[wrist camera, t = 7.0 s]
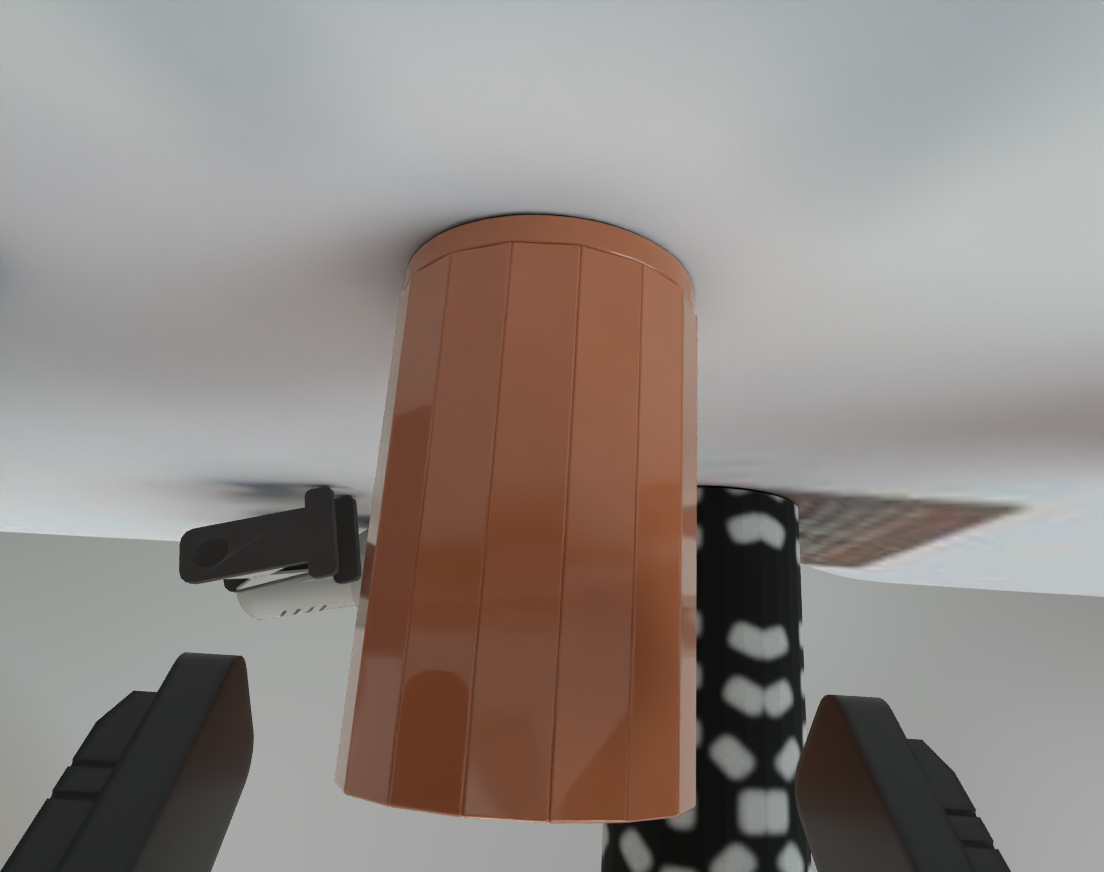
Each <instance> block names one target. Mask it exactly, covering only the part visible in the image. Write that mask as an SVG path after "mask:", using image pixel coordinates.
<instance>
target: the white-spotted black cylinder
mask: <svg viewBox="0 0 1104 872" xmlns="http://www.w3.org/2000/svg"><path fill="white" fill-rule="evenodd" d="M804 684H805V683H804V656H803V629H802V601H801V575H800V547H799V520H798V507H797V506H796V505H795V504H794V503H793V502H791V501H789V500H787V499H784V498H781V497H778V496H775V495H771V494H766V493H761V492H756V491H748V490H741V489H729V488H710V487H697V567H696V805H695V808H693V809H691V810H689V811H687V812H685V813H683V814H681V815H680V816H677V817H673V818H665V819H656V820H648V821H639V822H631V823H625V822H624V823H603V840H602V868H601V872H811V850H810V847H809V844H808V841H807V838H806V835H805V832H804V829H803V826H802V823H801V820H800V817H799V814H798V810H797V806H796V799H795V773H796V768H797V764H798V762H799V759H800V756H801V753H802V750H803V748H804V745H805V742H806V739H807V737H806V710H805V685H804Z"/></svg>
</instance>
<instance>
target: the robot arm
mask: <svg viewBox="0 0 1104 872" xmlns="http://www.w3.org/2000/svg"><path fill="white" fill-rule="evenodd" d="M253 739H254V734H253V725H252V715H251V706H250V696H249V688H248V678H247V669H246V663H245V660H244V658H243V657H242V656H235V655H219V654H203V653H188V652H185V653H183V654H181V655H180V656H179V657H178V658H177V660H176V661H175V663H174V664H173V666H172V668H171V669H170V671H169V673H168V675H167V676H166V678H165V680H164V682H163V683H162V685H161V687H160V689H159V690H158V692H143V691H133V692H132V693H130V694H129V695H128V696H127V697H125V698H124V699H123V700H122V701H121V702H120V703H118V704H117V705H116V706H115V707H114V708H112V709H111V710H110V711H109V712H107V713H106V714H105V715H104V716H103V717H102V718H100V719H99V720H98V721H97V722H96V723H95V725H94V727H93V728H92V730H91V731H90V733H89V734H88V736H87V737H86V739H85V740H84V742H83V744H82V745H81V747H80V748H79V750H78V751H77V753H76V755H75V756H74V758H73V762H72V765H71V766H70V767H67V769H66V770H65V772H64V773H63V775H62V776H61V778H60V779H59V781H58V782H57V784H56V786H55V787H54V789H53V793H52V796H51V798H50V799H47V800H46V801H45V803H44V804H43V806H42V807H41V809H40V811H39V812H38V814H37V815H36V817H35V818H34V820H33V822H32V823H31V825H30V826H29V828H28V829H27V831H26V832H25V834H24V835H23V837H22V839H21V840H20V842H19V843H18V845H17V846H16V848H15V850H14V851H13V853H12V855H11V856H10V857H9V859H8V860H7V862H6V864H5V865H4V867H3V868H2V870H1V871H0V872H211V870H212V867H213V865H214V862H215V860H216V857H217V854H218V852H219V849H220V847H221V844H222V841H223V839H224V836H225V834H226V831H227V829H228V826H229V824H230V821H231V819H232V816H233V813H234V811H235V808H236V806H237V803H238V800H239V798H240V795H241V793H242V790H243V788H244V785H245V782H246V779H247V776H248V773H249V769H250V764H251V759H252V753H253V741H254V740H253ZM795 799H796V806H797V810H798V814H799V817H800V820H801V823H802V826H803V829H804V832H805V835H806V838H807V841H808V844H809V847H810V850H811V853H812V856H813V859H814V862H815V865H816V868H817V871H818V872H1011V871H1010V869H1009V867H1008V866H1007V864H1006V862H1005V860H1004V859H1003V857H1002V855H1001V854H1000V852H999V850H998V849H994V846H993V840H992V838H991V836H990V834H989V832H988V831H987V829H986V827H985V825H984V824H983V822H982V820H981V818H980V817H977V816H976V814H975V811H976V809H975V808H974V806H973V804H972V802H971V801H970V799H969V797H968V795H967V794H966V792H965V790H964V789H963V787H962V785H961V783H960V781H959V780H958V778H957V776H956V774H955V772H954V771H953V770H952V769H951V768H949V766H948V765H947V764H945V762H943V760H942V759H941V758H940V757H939V756H938V755H937V754H936V753H935V752H934V751H933V750H932V749H931V748H930V747H929V746H928V745H927V744H926V743H925V742H924V741H923V740H916V739H907V738H906V737H905V735H904V732H903V731H902V729H901V727H900V725H899V723H898V721H897V719H896V717H895V716H894V714H893V712H892V710H891V708H890V707H889V705H888V704H887V703H886V702H885V701H884V700H883V699H881V698H874V697H858V696H842V695H826V696H824V697H823V698H822V700H821V702H820V704H819V706H818V709H817V712H816V715H815V717H814V720H813V723H812V726H811V728H810V731H809V734H808V737H807V739H806V742H805V745H804V748H803V750H802V753H801V756H800V759H799V762H798V764H797V768H796V773H795Z"/></svg>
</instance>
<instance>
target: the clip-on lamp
mask: <svg viewBox="0 0 1104 872" xmlns="http://www.w3.org/2000/svg"><path fill="white" fill-rule="evenodd" d="M368 530H369V529H367V530H365V531H363V532H361V533H360V534H359V532H358V519H357V506H356V500H355V499H354V498H352V497H350V496H344V497H340V498H336V499H335V498H334V492H333V490H331V489H330V488H328V487H319V488H315V489H310V490H308V491H307V492H306V494H305V508H300V509H295V510H289V511H284V512H279V513H273V514H268V515H263V516H258V517H252V518H247V519H242V520H237V521H231V522H226V523H221V524H216V525H210V526H205V527H200V528H195V529H191V530H189V531H187V532H186V533H185V534H184V535H183V537H182V538H181V542H180V557H179V560H180V561H179V562H180V563H179V572H180V576H181V578H182V579H183V580H184V581H185V582H188V583H190V584H200V583H205V582H211V581H216V580H221V579H224V585H225V588H226V589H228V590H229V591H231V592H236V593H237V598H238V601H239V603H240V605H241V607H242V608H243V609H244V611H245V612H246V613H247V614H249V615H250V616H252V617H253V618H256V619H258V620H261V619H267V618H273V617H278V616H287V615H292V614H301V613H308V612H315V611H322V610H329V609H336V608H343V607H350V606H356V607H358V604H359V596H360V589H361V582H362V574H363V567H364V559H365V552H366V545H367V537H368Z"/></svg>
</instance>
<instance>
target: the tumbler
mask: <svg viewBox="0 0 1104 872" xmlns="http://www.w3.org/2000/svg"><path fill="white" fill-rule="evenodd" d="M696 567H697V316H696V314H695V292H694V286H693V283H692V280H691V278H690V276H689V274H688V273H687V271H686V269H685V268H684V266H683V265H682V264H681V263H680V262H679V261H678V260H677V259H676V258H675V257H674V256H673V255H671V254H670V253H669V252H667V251H666V250H665V249H664V248H662V247H660V246H659V245H657V244H655V243H654V242H652V241H650V240H648V239H646V238H644V237H642V236H639V235H637V234H635V233H633V232H630V231H627V230H624V229H621V228H618V227H615V226H612V225H608V224H604V223H600V222H596V221H591V220H585V219H579V218H573V217H564V216H553V215H517V216H503V217H496V218H490V219H483V220H479V221H475V222H471V223H467V224H464V225H461V226H458V227H455V228H453V229H450V230H448V231H446V232H444V233H442V234H440V235H438V236H436V237H434V238H433V239H431V240H430V241H428V242H427V243H426V244H424V245H423V246H422V247H421V248H420V249H419V250H418V251H417V252H416V253H415V254H414V256H413V258H412V259H411V261H410V262H409V264H408V267H407V270H406V274H405V281H404V289H403V295H402V297H401V299H400V301H399V308H398V315H397V323H396V330H395V337H394V345H393V352H392V360H391V367H390V374H389V382H388V389H387V397H386V404H385V411H384V419H383V426H382V434H381V441H380V448H379V456H378V463H377V471H376V478H375V485H374V493H373V500H372V508H371V515H370V522H369V530H368V537H367V545H366V552H365V559H364V567H363V574H362V582H361V589H360V596H359V604H358V611H357V619H356V626H355V633H354V641H353V648H352V655H351V663H350V670H349V678H348V685H347V692H346V700H345V708H344V715H343V722H342V729H341V737H340V744H339V752H338V759H337V767H336V774H335V784H336V785H337V786H338V787H339V788H340V789H341V790H342V792H343V793H345V794H346V795H349V796H352V797H355V798H359V799H362V800H366V801H370V802H373V803H376V804H380V805H384V806H387V807H393V808H399V809H406V810H413V811H420V812H427V813H433V814H441V815H447V816H454V817H462V816H463V817H465V818H475V819H490V820H505V821H519V822H534V823H547V822H549V823H624V822H625V823H631V822H639V821H648V820H656V819H665V818H673V817H677V816H680V815H681V814H683V813H685V812H687V811H689V810H691V809H693V808H695V805H696Z"/></svg>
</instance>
